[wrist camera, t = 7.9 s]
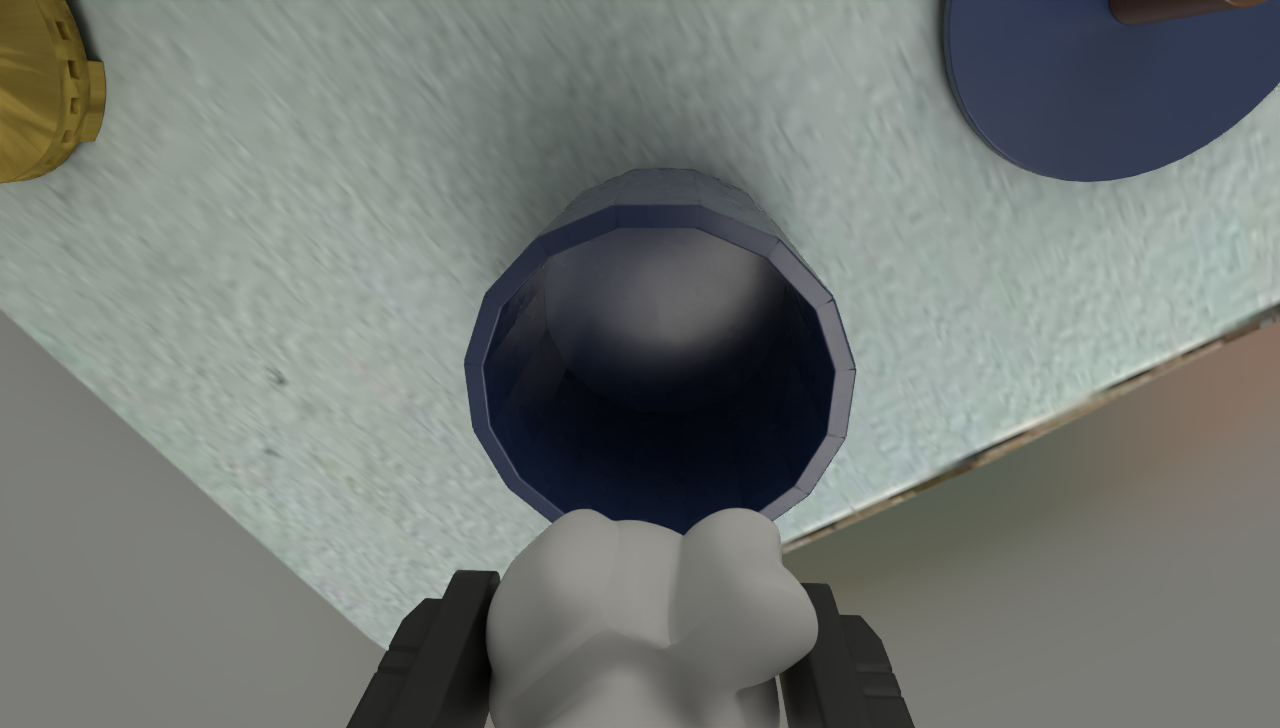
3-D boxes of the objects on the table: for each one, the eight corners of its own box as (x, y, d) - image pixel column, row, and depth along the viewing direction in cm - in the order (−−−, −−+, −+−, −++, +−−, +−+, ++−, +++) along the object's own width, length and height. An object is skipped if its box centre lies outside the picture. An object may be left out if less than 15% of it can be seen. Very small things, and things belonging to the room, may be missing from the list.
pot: (522, 168, 28) (441, 204, 18) (809, 167, 27) (881, 204, 17) (542, 416, 33) (487, 547, 23) (783, 421, 32) (828, 558, 23)
